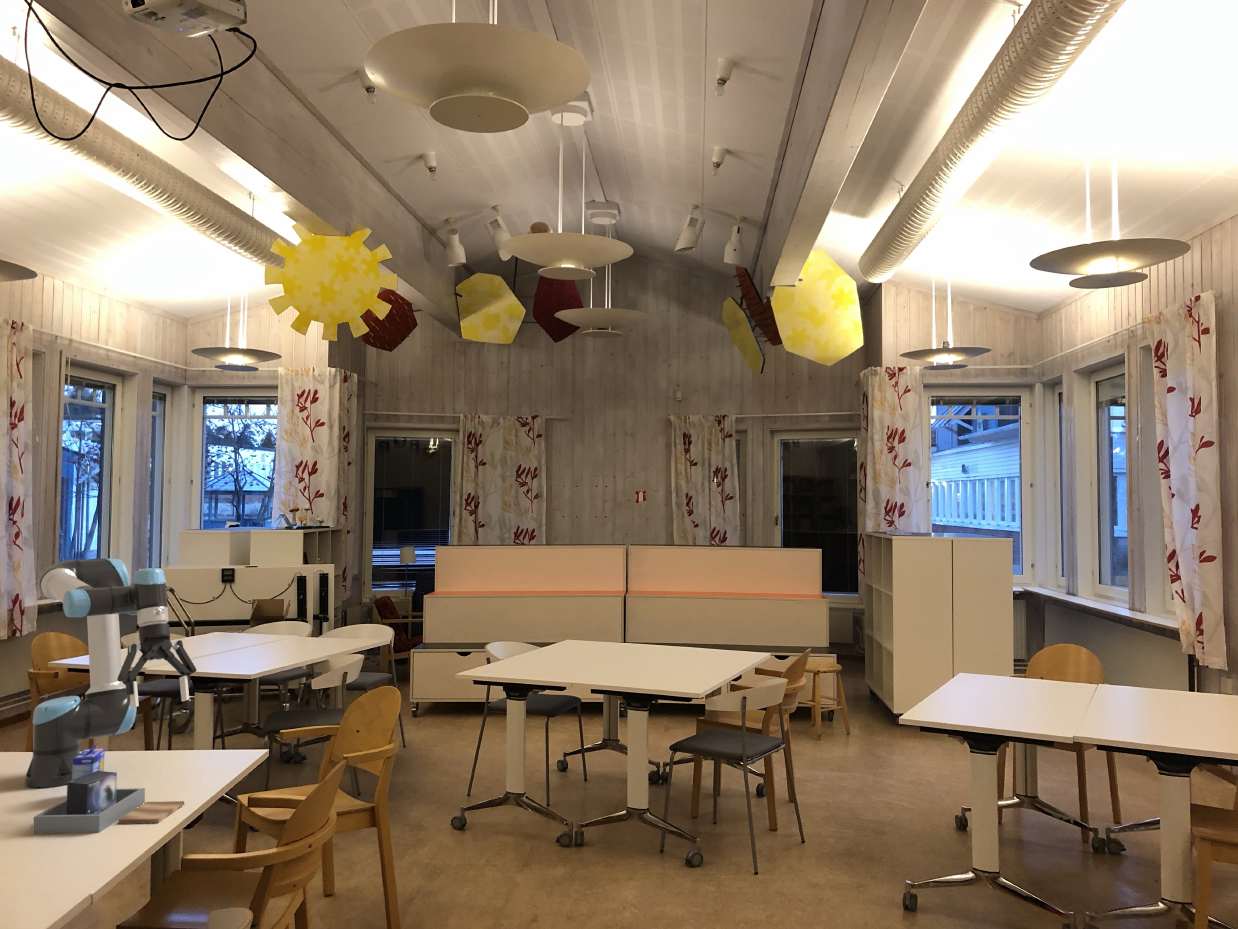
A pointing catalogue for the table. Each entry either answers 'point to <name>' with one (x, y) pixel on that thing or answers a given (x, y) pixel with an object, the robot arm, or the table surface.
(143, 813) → the board
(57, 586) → the robot arm
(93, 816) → the bin
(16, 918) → the table surface
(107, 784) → the small box
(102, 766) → the ink cartridge box
